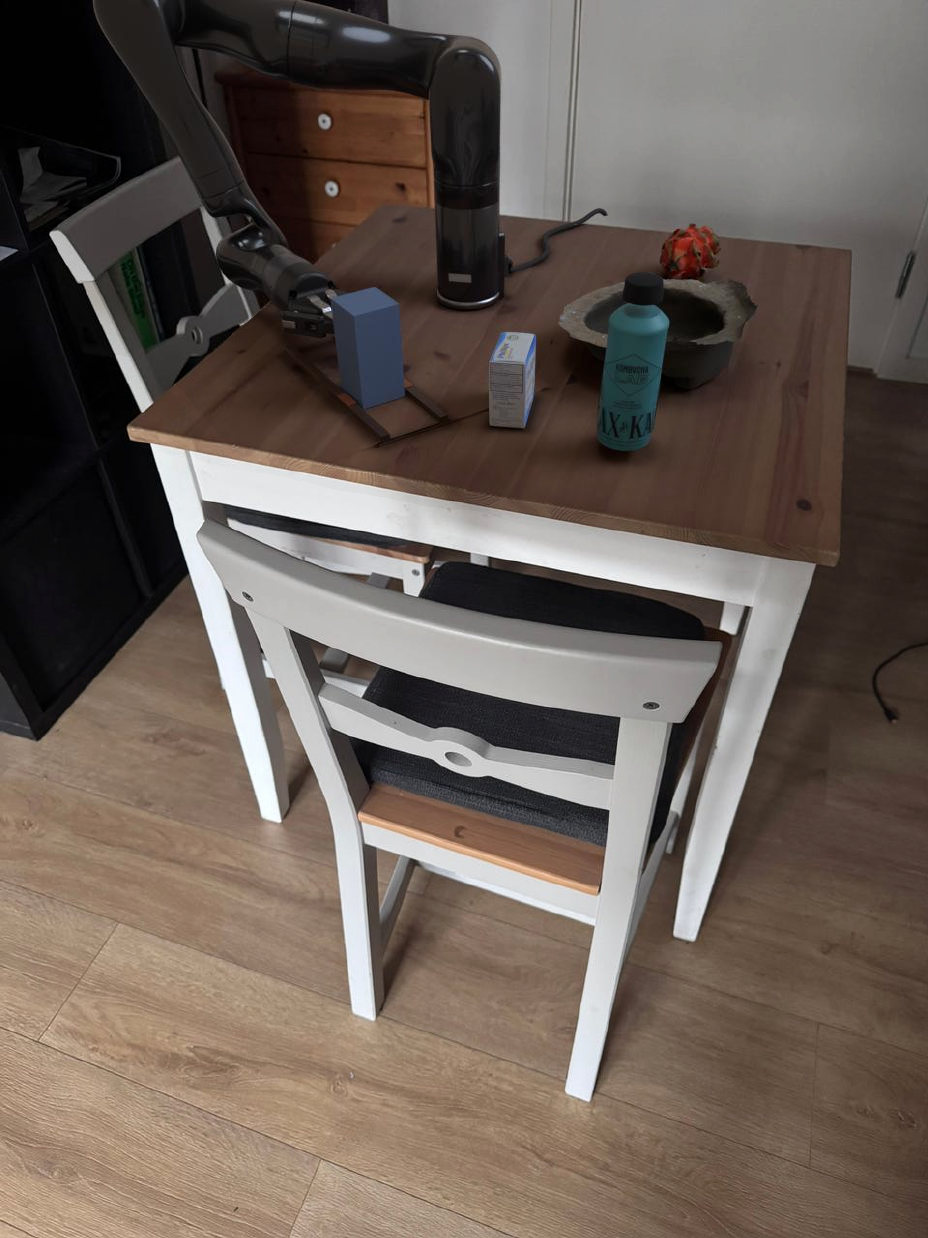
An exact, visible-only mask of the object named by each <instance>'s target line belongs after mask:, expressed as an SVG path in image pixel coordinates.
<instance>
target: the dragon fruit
mask: <svg viewBox="0 0 928 1238" xmlns="http://www.w3.org/2000/svg"><path fill="white" fill-rule="evenodd" d="M721 250H722V248H721V246H720V240H719V237H718V235H717V234H716V233H715V232H714V231H713V228H712V227H711V226H710V225H709V226H708V225H703V226H701V227H700V228H698V226H697V224H696V223H693V222H690V223H689V225H688V227H687V229H682V228H680V227H679V228H676V229H675V230H673V232H672V233H671V235H670V236H669V237H668V238H667V239H666V240H665V241H664V242H663V244H662V246H661V254H660V257H659V265H660V264H661V267H662V269H663V270H664V273H665V274H668V277H667V280H668V279H675V280H688V278H689V277H690V278H691V280H697V281H701V280H703V279H704V278H705V277H706V274H707V273H709V272H710V271H709V269H712V270H713V269H715V268H718V267H719V266H720V263H721V261H720V260H719V259H717V258H716V255H719V253H720V252H721Z"/></svg>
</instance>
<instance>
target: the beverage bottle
mask: <svg viewBox="0 0 928 1238" xmlns="http://www.w3.org/2000/svg"><path fill="white" fill-rule="evenodd" d="M663 279H664V278H663V277H662V276H661V275H660V274H657V273H654V272H648V271H639V272H633V273H630V274H627V276H626V277H625V280H624V282H625V285H624V289H623V294H622V298H623V299H624V300H625V301H626V302H628V303H627V304H625V305H623V306H621V307H620V308H618V309H617V310H616V311H614V312H613V313H612V314H611V316H610V317H609V331H608V339H607V348H606V356H605V362H603V363H604V364H603V366H602V369H603V371H602V372H603V373H602V376H601V377H600V379H601V382H600V387H599V388H600V389H599V398H598V399H599V402H598V404H597V411H598V412H597V414H596V415H597V421H596V422H595V423H596V427H595V431H596V435H597V439H598V442H600V443H601V444H602V445H604V446H605V447H607V448H609V449H611V450H616V451H622V452H629V451H630V452H631V451H636V450H640V449H642V448H644V447H646V446H647V445H648V444H649V442H650V440H651V439H652V438H653V436H652V435H653V432H654V430H655V426H656V425H655V424H656V423H655V421H656V417H657V410H658V404H659V401H658V399H659V395H660V392H661V386H662V383H661V380H662V379H661V378H662V374H663V371H662V363H663V357H664V350H665V344H666V337H667V331H668V327H669V320H668V318H667V316H666V315H665V314H664V313H663V312H662V311H661V310H660V309H659V308H658V307H657V306H655V304H658V303H660V302H661V301H662V300H663V286H664V281H663Z"/></svg>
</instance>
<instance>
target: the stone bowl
mask: <svg viewBox="0 0 928 1238" xmlns="http://www.w3.org/2000/svg"><path fill="white" fill-rule="evenodd" d="M663 281H664V286H663V300H662V301H661V302H660V303H658V304H655V306H657V307H658V308H659V309H660V310H661V311H662V312H663V313H664V314H665V315H666V316H667V318H668V320H669V327H668V331H667V337H666V344H665V350H664V357H663V363H662V371H663V373H662V374H663V375H664V376H666V377H669V378H673V380H674V383H675V385H676V386H677V387H680V388H683V389H685V390H692V389H695V388H697V387H699V386H700V385H702V384H705V383H708V382H709V381H710V380H712V379H714V378H717V377H718V376H720V374H722V372H723V371H724V369H725V368H727V366H728V364H729V363H730V360H731V357H732V354H733V353H732V351H733V347H734V343H735V342H737V341H739V340H741V339H742V337H743V332H744V328H745V325H746V323H747V322H749V321H750V320H751V319H752V317H753V316H754V315H756V311H757V309H758V306H759V305H758V304H755V303H754V301H753V300H752V299H751V296H750V295H749V293H748V291H747V290H748V287H746V285H744V283H742V282H740V281H737V280H733V279H731V278H727V279H725V280H720V281H717V280H712V281H709V282H708V283H705V282H701V280H699V281H697V280H693V279H686V280H675V279H668V278H667V279H664V278H663ZM624 285H625V281H622V282H616V283H614V284H612V285H610V286H604V287H601V288H598V289H595V290H593V291H591V292H588V293H585V294H584V295H583V296H581V297H578V298H577V299H575V300H573V301H571V302H570V303H568V304H567V305H565V306H564V307H563V310H562V311H563V312H562V314H559V319H558V320H557V322H558V325H559V327H561V328H562V329H563V330H565V331H567V332H568V333H569V336H570V337H572V339H573V338H574V339H576V340H579V341H583V342H585V344H586V347H587V349H588V351H589V353H590V354H591V355H592V356H593V357H594V358H596V359H597V360H599V361H601V362H603V363H605V356H606V348H607V339H608V331H609V317H610V316H611V314H612V313H613V312H614V311H616V310H617V309H618V308H620V307H621V306H623V305H625V304H627V303H628V302H626V301H625V300H624V299H623V298H622V294H623V289H624Z"/></svg>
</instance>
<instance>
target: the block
mask: <svg viewBox="0 0 928 1238" xmlns="http://www.w3.org/2000/svg"><path fill="white" fill-rule="evenodd" d="M331 307H332V315H333V324H334V332H335V336H334V340H335V347H336V357H337V365H338V373H339V381H340V389H341V390H342V391H343V392H344V393H346V394H348V395H349V396H350V397H351V398H352V399H353V400H354V401H355V402H356V403H357V404H358V405H359V406H360V407H361V408H362V409H363V410H364V411H365V410H367V409H370V408H373V407H376V406H380V405H383V404H386V403H389V402H392V401H396V400H399V399H402V398H405V397H406V394H405V387H404V378H405V376H404V375H405V374H404V357H403V341H402V329H401V313H400V311H401V310H400V303H399V302H398V301H396V300H394V298H392V297H391V296H389V295H388V294H386V293H385V292H384V291H382V290H380V289H379V288H378V287H376V286H373V287H369V288H365V289H361V290H357V291H353V292H349V293H348V294H345V295H341V296H337V297H333V298H331Z"/></svg>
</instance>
